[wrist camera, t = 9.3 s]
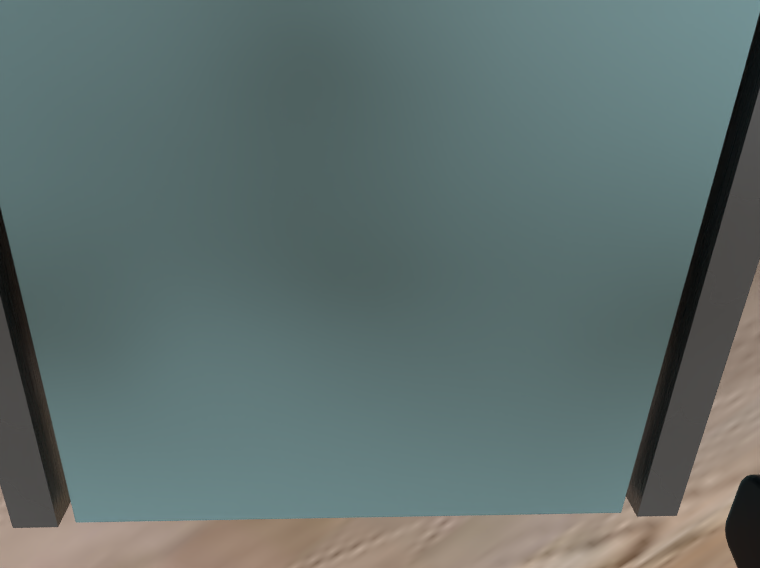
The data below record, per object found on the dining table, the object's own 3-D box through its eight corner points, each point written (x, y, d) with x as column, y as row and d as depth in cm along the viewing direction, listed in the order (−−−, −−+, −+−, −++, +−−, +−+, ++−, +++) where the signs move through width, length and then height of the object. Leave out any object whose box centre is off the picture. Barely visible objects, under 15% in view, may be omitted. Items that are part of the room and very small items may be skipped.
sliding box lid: (103, 462, 17) (76, 522, 15) (-93, -514, 9) (-201, -632, 7) (592, 456, 18) (621, 512, 16) (804, -435, 10) (907, -524, 8)
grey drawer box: (109, 360, 21) (12, 527, 15) (-10, -325, 14) (-310, -576, 7) (580, 359, 22) (676, 515, 16) (710, -275, 15) (990, -458, 8)
